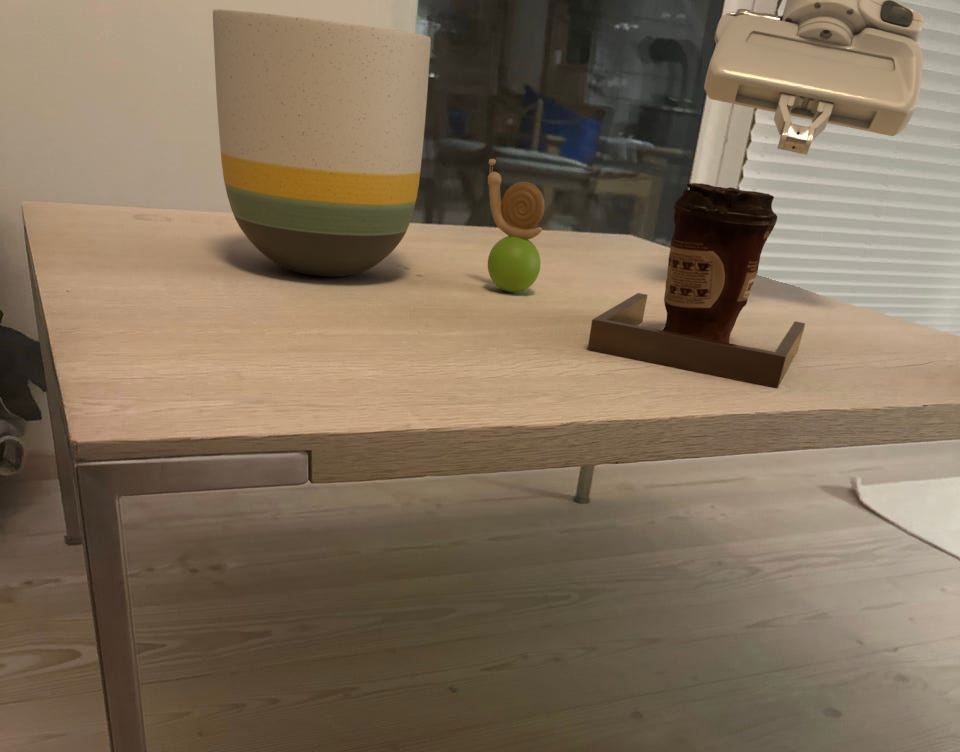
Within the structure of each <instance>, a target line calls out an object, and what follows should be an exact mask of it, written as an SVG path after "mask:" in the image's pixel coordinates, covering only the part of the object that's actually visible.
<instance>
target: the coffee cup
mask: <svg viewBox="0 0 960 752" xmlns="http://www.w3.org/2000/svg"><path fill="white" fill-rule="evenodd" d="M686 187H688V188H689V189H687V188H686V189H684V190H683V192H682V194H681V196H680V197H678V199H677V200H676V201H674V204H673V210H674V213H673V223H674V228H673V229H674V231H673V234H672V237H671V241H670V246H669V253H668V260H667V261H668V262H667V271H666V281H665V291H664V296H663V302H664V303H663V304H664V307H665V308H664V309H665V311H666V320H665V324H664V327H663V329H662V330H663V331H668V332H673V333H678V334H684V335H689V336H694V337H699V338H704V339H710V340H715V341H720V342H725V343H731V341H730V340H731V339H730V338H731V334H732V331H733V329H734V327H735V326H736V325H735V324H736V321H737V319H738V317H739V315H740V313H741V312H742V310H743V309H744V307H746V305H747V303H748V299H749V295H750V293H751V290H752V288H753V285H754V283H755V280H756V277H757V275H758V273H759V272H758V271H759V266H760V262H761V261H760V260H761V255H762V253H763V249H764V246H765V244H766V243H767V241H768V238H769V236H770V235H771V234H772V232H773V230H774V229H775V226H776V224H777V221H778V215H777V214H776V212H774V210H773V206H772V205H773V201H774V198H775V196H774V195H772V194H770V193H765V192H760V191H754V190H742V189H737V188H735V187H723V186H715V185H710V184H706V183H702V182H701V183H700V182H699V183H698V182H692V183H691V182H687V183H686Z"/></svg>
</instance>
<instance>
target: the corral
mask: <svg viewBox="0 0 960 752" xmlns="http://www.w3.org/2000/svg"><path fill="white" fill-rule="evenodd" d="M647 300H648V294H646V293H640V292H637V293H635V294H634V295H631V296H630V297H628V298H626V299H625V300H623V301H622V302H620V303H618V304H617V305H615V306H613V307H612V308H610V309H608V310H606V311H605V312H602V313H601V314H600V315H599V314H598V316H595V317H594V318H592V320H591V325H590V331H589V337H588V343H587V350H588V351H593V352H598V353H602V354H607V355H611V356H617V357H623V358H626V359H632V360H637V361H642V362H647V363H652V364H656V365H662V366H666V367H672V368H677V369H682V370H687V371H692V372H697V373H700V374H705V375H706V374H707V375H711V376H716V377H722V378H725V379H730V380H731V379H732V380H737V381H740V382H745V383H751V384H757V385H761V386H766V387H770V388H775V389H778V388H779V386H780V384H781V383H782V380H783V379H784V377H785V375H786V373H787V371H788V370H789V368H790V366H791V364H792V362H793V360H794V358H795V356H796V355H797V353H798V351H799V348H800V345H801V340H802V337H803V333H804V330H805V327H806V323H805V322H800V321H794V322H793V323H792V325H791V326H790V328H789V330H788V331H787V333H786V334H785V335H784V336H783V339H782V340H781V341H780V343H779V345H778V346H777V348H776V350H775V351H771V350H766V349H761V348H756V347H752V346H751V347H750V346H746V345H740V344H735V343H731V342H730V343H725V342H720V341H715V340H710V339H704V338H699V337H694V336H689V335H684V334H678V333H673V332H668V331H663V329H658V328H657V329H656V328H651V327H646V326H642V325H640V323H642V322H643V320H644V315H645V310H646V305H647Z"/></svg>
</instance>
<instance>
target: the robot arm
mask: <svg viewBox="0 0 960 752" xmlns="http://www.w3.org/2000/svg"><path fill="white" fill-rule="evenodd" d="M924 23H925V19H924V16H923V14H921V13H920V12H918V11H916V10H914V9H912V8H911V7H909V6H906V5H904V4H903V3H900V1H897V0H786V2H785V5H784V9H783V13H782V15H778V14H772V13H767V12H755V11H751V10H750V9H748V8H738V9H737V10H736V11H731V12H728V13H726V14H723V15H721V17H720V19H719V20H718V22H717V25H716V29H715V32H714V42H715V44H716V45H715V48H714V50H713V53H712V56H711V58H710V61H709V65H708V68H707V72H706V75H705V80H704V85H703V89H704V91H705V94H706V96H707V97H708V99H710V100H713V101H718V102H721V103H722V102H723V103H728V104H732V105H737V106H743V107H747V108H752V109H757V110H762V111H767V112H771V113H774V116H773V121H774V124H775V127H776V129H777V132H778V134H779V135H780V137H779V141H778V144H777V150H782V151H788V152H792V153H796V154H800V155H806V156H807V155H808V153H809V151H810V148H811V145H812V142H813V141H814V139H816V138H817V137H818V136H819V135H820V134H821V133H823V132H824V131H825V130H826V127H827V125H828V124H830V125H835V126H841V127H846V128H850V129H854V130H855V129H856V130H861V131H864V132H870V133H875V134H878V135H879V134H880V135H884V136H887V137H888V136H889V137H894V136H897V135H899V134H900V133H901V132H902V131H904V130H905V129H906V128H907V126H908V124H909V122H910V121H911V119H912V117H913V115H914V113H915V110H916V108H917V105H918V101H919V97H920V91H921V86H922V78H923V67H924V57H923V52H922V48H921V47H920V45H919V44H918V42H919V39H920V36H921V33H922V31H923V27H924ZM791 117H795V118H801V119H806V120H811V123H810V124H809V126H805V125H800V124H796V123H793V121H792V118H791Z"/></svg>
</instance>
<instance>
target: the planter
mask: <svg viewBox="0 0 960 752" xmlns="http://www.w3.org/2000/svg"><path fill="white" fill-rule="evenodd" d="M212 29H213V30H212V32H213V52H214V53H213V55H214V72H215V73H214V75H215V76H214V77H215V90H216V91H215V92H216V108H217V123H218V136H219V148H220V160H221V169H222V170H221V171H222V176H223V183H224V186H225V187H224V188H225V191H226V192H225V193H226V195H227V199H228V203H229V206H230V209H231V212H232V214H233V217H234V220H235V221H236V223H237V225H238V226H239V228H240V230H241V231H242V233H243V234H244V236H245V237H246V238H247V239H248V240H249V241H250V243H251V244H252V245H253V246H254V247H255V248H256V249H257V250H258V251H259V253H261V254H262V255H263V256H264V257H266V258H267V259H269V261H271V262H273V263H275V264H276V265H277V266H280V267H281V268H284V269H286V270H289V271H292V272H294V273H297V274H298V273H299V274H302V275H308V276H316V277H330V278H331V277H332V278H334V277H335V278H336V277H337V278H338V277H348V276H354V275H357V274H360V273H361V274H362V273H364V272H366V271H368V270H371V269H372V268H374V267H375V266H377V265H378V264H380V263H381V262H383V261H384V260H385V259H386V258H387V257H388V256H390V255H391V253H392V252H393V251H394V250H395V249H396V248H397V247H398V246H399V244H400V243H401V241H402V240H403V239H404V237H405V235H406V234H407V231H408V228H409V226H410V223H411V220H412V218H413V215H414V210H415V207H416V202H417V198H418V193H419V185H420V177H421V169H422V160H423V150H424V149H423V148H424V140H425V127H426V116H427V115H426V114H427V102H428V88H429V72H430V59H431V44H432V43H431V42H432V41H431V40H432V38H431V36H428V35H425V34H419V33H415V32H409V31H402V30H395V29H389V28H384V27H375V26H370V25H363V24H362V25H361V24H354V23H348V22H340V21H332V20H325V19H324V20H323V19H316V18H310V17H309V18H308V17H301V16H300V17H299V16H291V15H284V14H283V15H282V14H274V13H265V12H257V11H256V12H255V11H247V10H234V9H221V8H220V9H219V8H216V9H213V10H212Z"/></svg>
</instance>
